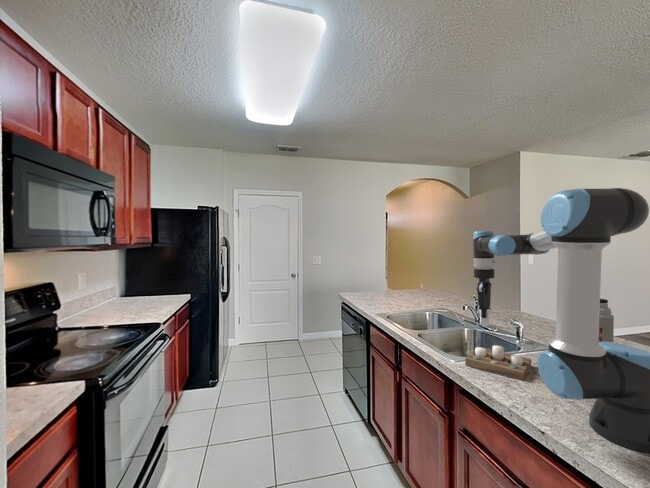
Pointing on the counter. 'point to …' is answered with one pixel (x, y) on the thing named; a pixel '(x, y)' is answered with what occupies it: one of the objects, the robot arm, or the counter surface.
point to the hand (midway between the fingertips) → (485, 325)
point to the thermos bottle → (605, 322)
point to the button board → (499, 365)
